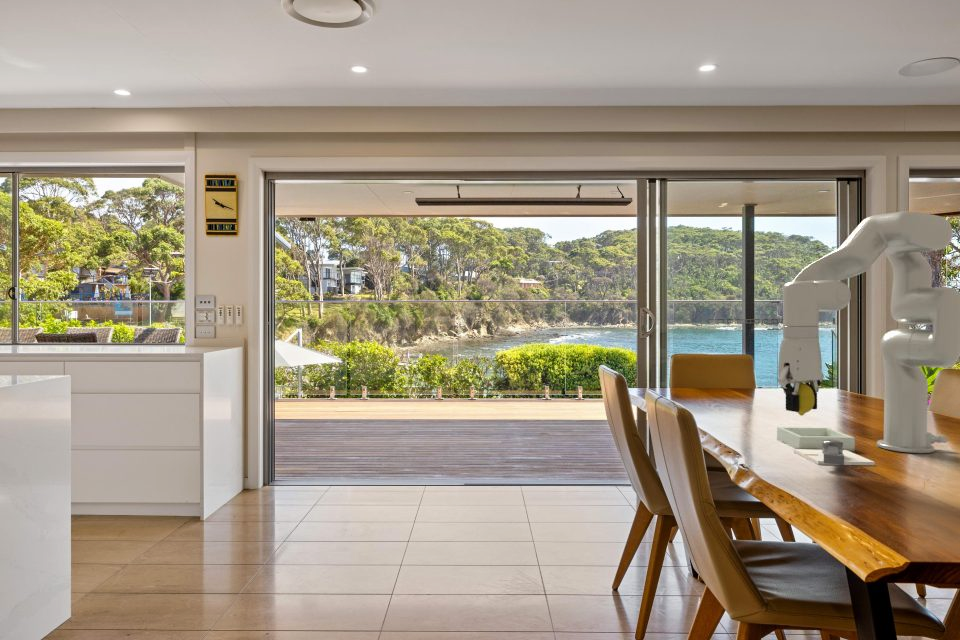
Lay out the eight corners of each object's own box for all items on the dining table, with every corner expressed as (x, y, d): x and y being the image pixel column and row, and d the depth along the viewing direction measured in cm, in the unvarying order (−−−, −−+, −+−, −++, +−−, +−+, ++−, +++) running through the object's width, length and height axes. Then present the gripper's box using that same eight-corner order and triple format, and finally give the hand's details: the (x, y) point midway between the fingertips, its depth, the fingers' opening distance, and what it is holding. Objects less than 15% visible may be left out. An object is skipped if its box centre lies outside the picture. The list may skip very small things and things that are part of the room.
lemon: (808, 413, 153) (808, 380, 152) (818, 417, 147) (818, 383, 147) (784, 413, 153) (784, 380, 153) (793, 417, 148) (793, 383, 148)
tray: (827, 440, 178) (828, 427, 178) (854, 451, 164) (854, 437, 164) (776, 439, 179) (777, 427, 179) (799, 450, 165) (799, 436, 165)
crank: (822, 450, 159) (822, 439, 159) (842, 452, 157) (842, 440, 157) (822, 465, 144) (822, 451, 144) (845, 467, 142) (845, 454, 142)
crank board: (845, 453, 162) (845, 449, 162) (874, 465, 149) (874, 461, 149) (793, 452, 163) (793, 448, 163) (817, 464, 150) (817, 460, 150)
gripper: (810, 331, 157) (810, 404, 157) (762, 334, 149) (763, 411, 150) (839, 332, 150) (839, 408, 151) (790, 335, 142) (791, 415, 143)
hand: (801, 409), depth 150 cm, fingers closed on lemon, 5 cm apart
